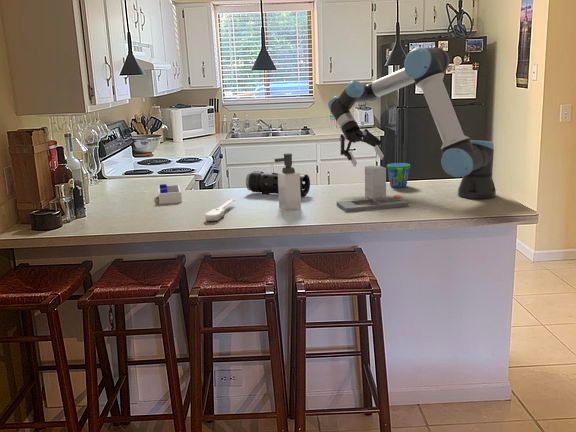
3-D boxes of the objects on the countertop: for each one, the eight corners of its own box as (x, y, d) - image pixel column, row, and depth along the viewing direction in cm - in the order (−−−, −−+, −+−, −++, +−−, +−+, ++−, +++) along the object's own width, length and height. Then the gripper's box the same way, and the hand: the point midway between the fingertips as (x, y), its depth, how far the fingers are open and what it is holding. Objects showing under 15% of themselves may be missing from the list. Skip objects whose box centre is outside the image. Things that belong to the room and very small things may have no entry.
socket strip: (396, 199, 239) (396, 194, 238) (408, 206, 227) (408, 200, 227) (336, 205, 233) (336, 199, 232) (346, 212, 222) (346, 206, 221)
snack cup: (387, 183, 273) (387, 161, 271) (409, 183, 271) (409, 161, 269) (386, 189, 258) (386, 167, 256) (410, 190, 256) (410, 167, 254)
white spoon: (226, 205, 241) (226, 198, 240) (239, 205, 240) (239, 199, 239) (202, 222, 214) (202, 215, 214) (217, 222, 213) (216, 215, 212)
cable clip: (171, 202, 251) (170, 188, 250) (161, 203, 250) (160, 189, 249) (170, 196, 263) (169, 183, 261) (160, 197, 262) (159, 184, 260)
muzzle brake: (301, 199, 246) (301, 175, 244) (245, 195, 259) (244, 173, 256) (310, 194, 255) (310, 171, 252) (255, 191, 267) (254, 169, 264)
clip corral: (179, 194, 266) (179, 184, 265) (182, 202, 250) (181, 192, 248) (158, 195, 264) (157, 186, 263) (159, 204, 247) (158, 193, 246)
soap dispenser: (274, 208, 231) (271, 154, 226) (293, 205, 235) (291, 152, 230) (281, 212, 226) (279, 156, 220) (300, 208, 230) (299, 154, 224)
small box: (386, 198, 242) (386, 167, 239) (372, 199, 240) (372, 169, 237) (377, 194, 250) (377, 165, 246) (364, 196, 248) (364, 166, 244)
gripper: (369, 125, 269) (390, 160, 259) (322, 136, 261) (342, 172, 251) (374, 114, 262) (395, 149, 253) (325, 125, 254) (346, 162, 245)
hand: (369, 161), depth 252 cm, fingers open, 13 cm apart
